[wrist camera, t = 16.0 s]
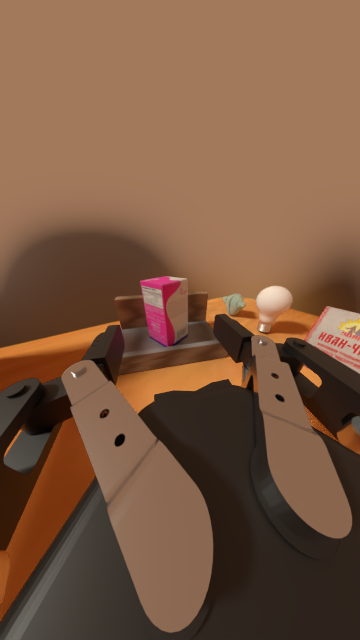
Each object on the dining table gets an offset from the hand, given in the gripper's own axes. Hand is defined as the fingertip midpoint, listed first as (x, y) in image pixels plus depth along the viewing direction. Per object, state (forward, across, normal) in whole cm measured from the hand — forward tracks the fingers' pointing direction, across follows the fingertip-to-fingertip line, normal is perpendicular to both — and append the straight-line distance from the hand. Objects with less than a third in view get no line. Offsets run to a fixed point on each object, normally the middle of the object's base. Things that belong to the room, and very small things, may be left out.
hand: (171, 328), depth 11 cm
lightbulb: (+12, -24, +12) cm, 29 cm away
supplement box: (+12, -1, +10) cm, 16 cm away
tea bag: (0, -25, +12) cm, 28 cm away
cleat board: (+12, -1, +12) cm, 17 cm away
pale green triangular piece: (+22, -22, +12) cm, 34 cm away
